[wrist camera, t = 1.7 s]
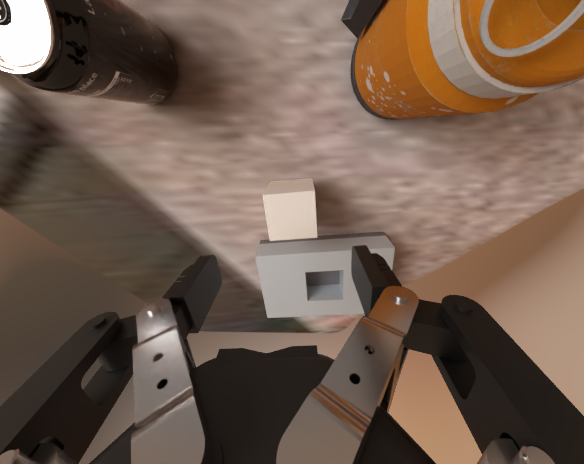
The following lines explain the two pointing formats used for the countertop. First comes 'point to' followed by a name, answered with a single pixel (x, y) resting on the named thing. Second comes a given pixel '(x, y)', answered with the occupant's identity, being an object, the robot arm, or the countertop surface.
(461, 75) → the canister
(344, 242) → the grey rectangular block
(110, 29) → the beverage can
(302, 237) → the cream rectangular block
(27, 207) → the countertop surface
